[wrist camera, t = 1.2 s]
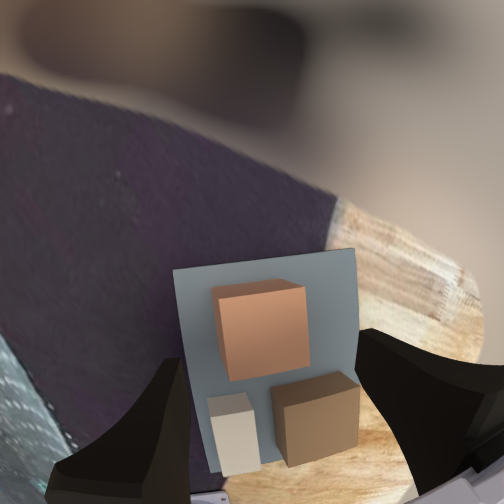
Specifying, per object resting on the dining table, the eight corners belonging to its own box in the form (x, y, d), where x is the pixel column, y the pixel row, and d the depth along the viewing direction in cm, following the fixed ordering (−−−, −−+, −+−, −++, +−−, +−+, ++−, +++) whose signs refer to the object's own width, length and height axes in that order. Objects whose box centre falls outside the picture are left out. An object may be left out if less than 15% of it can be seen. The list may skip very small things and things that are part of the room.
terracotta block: (285, 343, 23) (310, 365, 18) (219, 354, 22) (229, 381, 17) (279, 278, 23) (305, 286, 18) (210, 287, 22) (218, 299, 17)
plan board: (354, 433, 26) (375, 454, 22) (209, 469, 23) (215, 498, 19) (351, 248, 25) (379, 248, 21) (173, 269, 22) (170, 274, 18)
